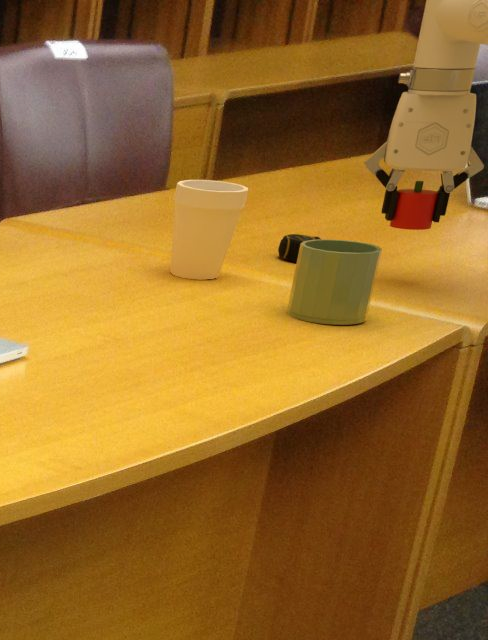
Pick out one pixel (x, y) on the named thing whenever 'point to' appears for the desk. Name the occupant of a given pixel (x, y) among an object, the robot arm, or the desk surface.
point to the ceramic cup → (333, 281)
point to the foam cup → (204, 226)
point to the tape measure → (292, 246)
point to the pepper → (414, 208)
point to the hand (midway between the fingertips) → (411, 218)
